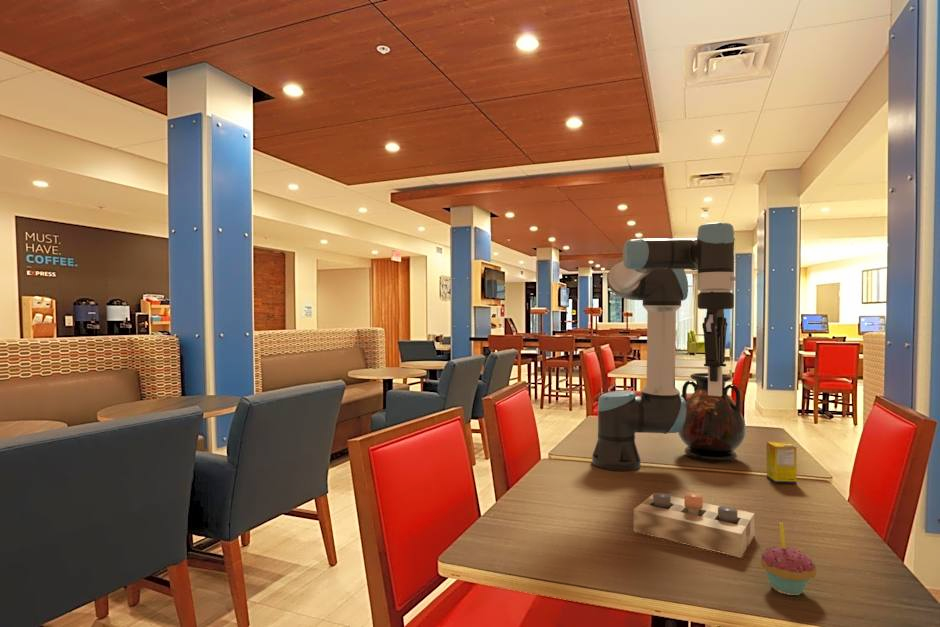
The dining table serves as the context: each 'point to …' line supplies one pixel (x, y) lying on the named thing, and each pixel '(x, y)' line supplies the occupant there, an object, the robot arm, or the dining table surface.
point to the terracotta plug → (693, 502)
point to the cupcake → (787, 567)
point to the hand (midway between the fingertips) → (715, 395)
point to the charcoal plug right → (727, 514)
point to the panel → (695, 526)
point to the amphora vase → (712, 422)
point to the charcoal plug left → (662, 500)
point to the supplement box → (781, 463)
